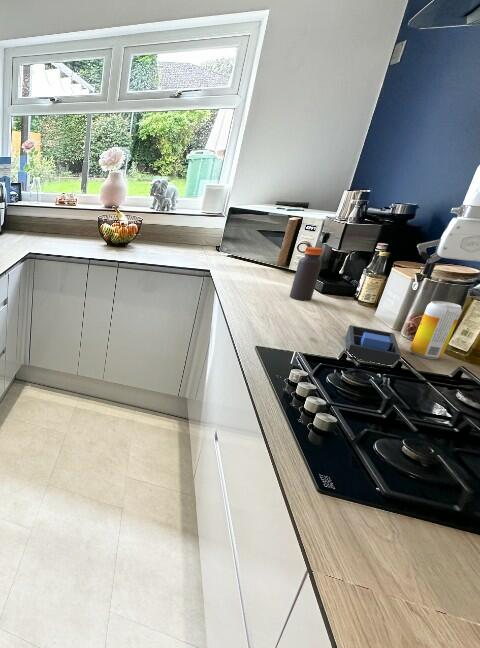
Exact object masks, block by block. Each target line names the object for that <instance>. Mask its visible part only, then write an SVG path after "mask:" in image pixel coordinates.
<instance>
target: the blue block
mask: <svg viewBox="0 0 480 648" xmlns="http://www.w3.org/2000/svg"><path fill="white" fill-rule="evenodd" d="M390 343H391V342H390V338H389V337H388V336H382V335H377V334H372V333H367V332H364V333H363V336H362V339H361V342H360V345H359V346H364V347H369V348H374V349H379V350H384V351H388V348H389V346H390Z"/></svg>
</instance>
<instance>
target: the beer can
mask: <svg viewBox="0 0 480 648" xmlns="http://www.w3.org/2000/svg"><path fill="white" fill-rule="evenodd" d="M462 312H463V309H462V306H461V305H460V304H457V303H453V302H449V301H443V300H432V301H430V303H428V304H427V305H426V308H425V310H424V313H423V315H422V317H421V320H420V322H419V325H418V328H417V330H416V333H415V336H414V338H413V340H412V342H411V345H410V346H409V347H410V348H409V350H410V351H411V354H413V355H415V356H418V357H420V358H424V359H430V360H438V359H439V358H442V357H443V355H444V353H445V351H446V349H447V346H448V344H449V342H450V339H451V338H452V335H453V332H454V330H455V328H456V326H457V324H458V321H459V319H460V318H461V314H462Z"/></svg>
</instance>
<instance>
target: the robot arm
mask: <svg viewBox="0 0 480 648" xmlns="http://www.w3.org/2000/svg"><path fill="white" fill-rule="evenodd" d="M450 214H455V215H457V217H452V219H451V220H450V222H449V223H448V224H447V226H446V227H445V229H444V231H443V233H442V235H441V237H440V238H439V239H436V240H431V241H426V242H422V243H418V244H417V245H416V248H417V251H418V254H419V255H420V257H421V258H422V259H423V260H424V261H425V265H424V267H423V270H422V272H421V274H422V275H423V277H424V278H425V279H431V277H432V275H433V272H434V269H435V267H436V262H437V261H439V260H441V259H442V258H444V259H450V260H460V261H469V262H478V263H479V262H480V164H479V165H478V166H477V168H476V170H475V173H474V175H473V178H472V180H471V183H470V185H469V187H468V190H467V192H466V195H465V198H464V200H463V202H462V204H461V205H460V206H457V207H451V209H450ZM431 247H432V248H433V247H435V252H434V253H433V254H431V255H429V254H428V252H427V248H431Z"/></svg>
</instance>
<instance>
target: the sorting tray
mask: <svg viewBox="0 0 480 648" xmlns="http://www.w3.org/2000/svg"><path fill="white" fill-rule="evenodd" d="M364 332H367V333H372V334H377V335H382V336H388V337H389V338H390V342H391V343H390V346H389V348H388V351H384V350H379V349H374V348H369V347H364V346H359V345H360V342H361V339H362V336H363V333H364ZM346 349H348V351H349V352H350V353H351V354H353V356H355V357H356V358H358V359H362V360H363V361H362V360H361V361H362V362H367V361H368V362H367V363H371V362H375V363H374V364H376V363H380V364H385V365H393V364H394V363H395V362H396V361H397V360H398V359H399V360H400V358H401V350H400V347H399V344H398V341H397V338H396V334H395V333H394V332H390V331H384V330H379V329H373V328H368V327H362V326H357V325H352V324H350V325H349V326H348V329H347V331H346V334H345V350H346ZM358 359H357V360H358ZM370 361H371V362H370ZM380 364H379V365H380ZM385 365H384V366H385Z"/></svg>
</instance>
